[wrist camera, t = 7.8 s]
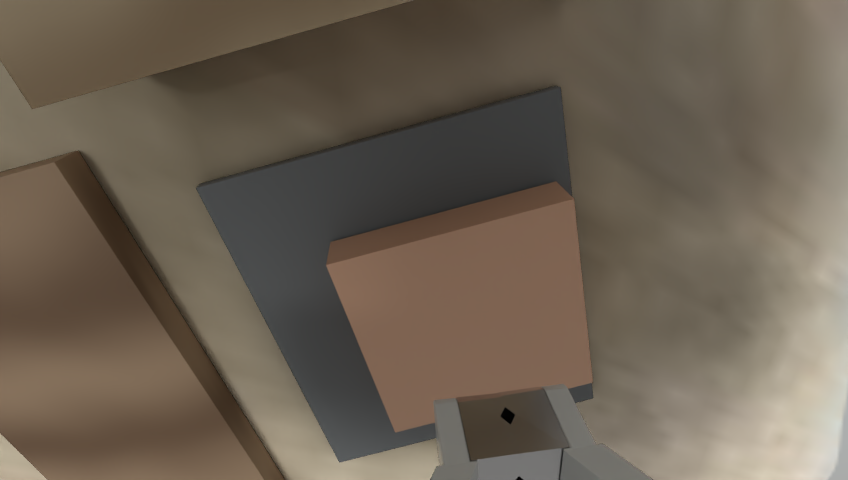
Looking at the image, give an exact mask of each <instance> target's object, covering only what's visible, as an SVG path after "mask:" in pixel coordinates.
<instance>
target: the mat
mask: <svg viewBox="0 0 848 480" xmlns="http://www.w3.org/2000/svg"><path fill="white" fill-rule="evenodd" d="M555 181H556V182H557V183H558V184H559V185H560V186H562V187H563V188H564V189H565V190H566V191H567V192H568V193H569V194H570V195H571V196H572V191H571V181H570V172H569V162H568V153H567V143H566V134H565V124H564V115H563V105H562V96H561V87H558V86H553V87H549V88H545V89H542V90H538V91H535V92H531V93H527V94H524V95H520V96H516V97H513V98H509V99H506V100H502V101H498V102H495V103H491V104H487V105H484V106H480V107H477V108H473V109H469V110H466V111H462V112H458V113H455V114H451V115H448V116H444V117H440V118H437V119H433V120H429V121H426V122H422V123H419V124H415V125H411V126H408V127H404V128H400V129H397V130H393V131H390V132H386V133H382V134H379V135H375V136H371V137H368V138H364V139H361V140H357V141H353V142H350V143H346V144H342V145H339V146H335V147H332V148H328V149H324V150H321V151H317V152H313V153H310V154H306V155H303V156H299V157H295V158H292V159H288V160H284V161H281V162H277V163H274V164H270V165H266V166H263V167H259V168H255V169H252V170H248V171H245V172H241V173H237V174H234V175H230V176H227V177H223V178H219V179H216V180H212V181H208V182H205V183H201V184H199V185H198V186H197V187H196V189H197V191H198V193H199V195H200V197H201V199H202V201H203V203H204V205H205V207H206V208H207V210H208V212H209V214H210V216H211V218H212V220H213V222H214V224H215V226H216V228H217V229H218V231H219V233H220V235H221V237H222V239H223V241H224V243H225V245H226V247H227V249H228V250H229V252H230V254H231V256H232V258H233V260H234V262H235V264H236V266H237V268H238V270H239V272H240V273H241V275H242V277H243V279H244V281H245V283H246V285H247V287H248V289H249V291H250V293H251V294H252V296H253V298H254V300H255V302H256V304H257V306H258V308H259V310H260V312H261V314H262V316H263V317H264V319H265V321H266V323H267V325H268V327H269V329H270V331H271V333H272V335H273V337H274V338H275V340H276V342H277V344H278V346H279V348H280V350H281V352H282V354H283V356H284V358H285V359H286V361H287V363H288V365H289V367H290V369H291V371H292V373H293V375H294V377H295V379H296V381H297V382H298V384H299V386H300V388H301V390H302V392H303V394H304V396H305V398H306V400H307V402H308V403H309V405H310V407H311V409H312V411H313V413H314V415H315V417H316V419H317V421H318V423H319V425H320V426H321V428H322V430H323V432H324V434H325V436H326V438H327V440H328V442H329V444H330V446H331V447H332V449H333V451H334V453H335V455H336V457H337V459H338V461H339V462H343V461H347V460H351V459H355V458H359V457H363V456H367V455H371V454H375V453H379V452H383V451H387V450H391V449H395V448H398V447H402V446H406V445H410V444H414V443H418V442H422V441H426V440H430V439H434V438H436V429H435V423H431V424H427V425H423V426H419V427H415V428H411V429H408V430H404V431H400V432H396V433H395V431H394V428H393V426H392V424H391V421H390V419H389V416H388V414H387V411H386V409H385V407H384V404H383V402H382V399H381V397H380V395H379V392H378V390H377V387H376V385H375V382H374V380H373V378H372V375H371V373H370V370H369V368H368V366H367V363H366V361H365V358H364V356H363V353H362V351H361V349H360V346H359V344H358V341H357V339H356V336H355V334H354V332H353V329H352V327H351V324H350V322H349V320H348V317H347V315H346V312H345V310H344V307H343V305H342V303H341V300H340V298H339V295H338V293H337V291H336V288H335V286H334V283H333V281H332V278H331V276H330V274H329V271H328V269H327V266H326V263H327V258H328V252H329V247H330V242H332V241H336V240H340V239H343V238H347V237H351V236H354V235H358V234H362V233H366V232H369V231H373V230H377V229H380V228H384V227H388V226H392V225H395V224H399V223H403V222H407V221H410V220H414V219H418V218H421V217H425V216H429V215H433V214H436V213H440V212H444V211H447V210H451V209H455V208H459V207H462V206H466V205H470V204H473V203H477V202H481V201H485V200H488V199H492V198H496V197H499V196H503V195H507V194H511V193H514V192H518V191H522V190H525V189H529V188H533V187H537V186H540V185H544V184H548V183H551V182H555ZM568 390H569V392H570V394H571V396H572V398H573V400H574V402H575V403H577V402H581V401H585V400H588V399H592V398H593V391H592V383H589V384H585V385H581V386H577V387H573V388H569V389H568Z"/></svg>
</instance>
